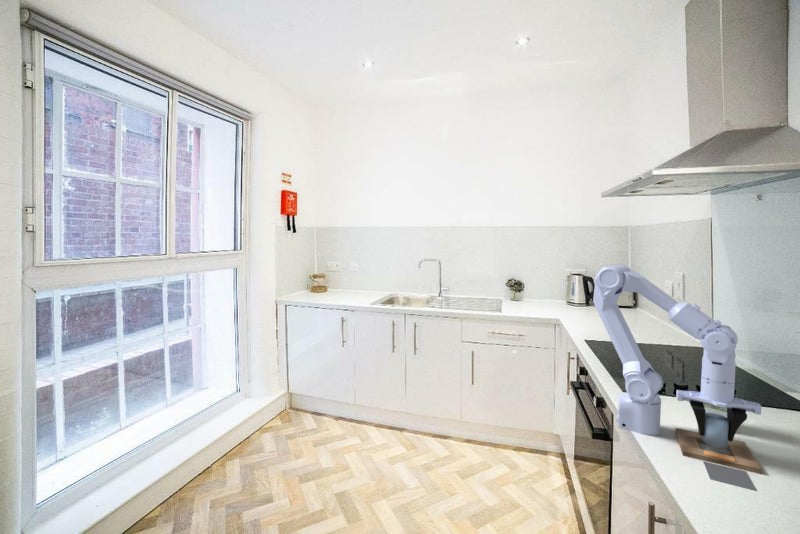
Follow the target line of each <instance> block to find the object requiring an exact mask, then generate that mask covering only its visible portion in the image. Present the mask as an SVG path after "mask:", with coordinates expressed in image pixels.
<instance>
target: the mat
mask: <svg viewBox="0 0 800 534" xmlns="http://www.w3.org/2000/svg"><path fill="white" fill-rule="evenodd" d="M702 462H703V464H704V467H705V470H706V472H707V475H708V476H709V479H710V480H712V481H716V482H719V483H723V484H728V485H731V486H733V487H739V488H743V489H747V490H751V491H754V492H758V490H757V488H756V486H755V484H754V483H753V481H752V479H751V478H750V475H749V474H748V471H746V470H742V469H738V468H733V467H729V466H725V465H721V464H716V463H712V462H708V461H704V460H702Z"/></svg>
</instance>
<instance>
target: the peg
mask: <svg viewBox="0 0 800 534" xmlns="http://www.w3.org/2000/svg"><path fill="white" fill-rule="evenodd" d="M728 435H729V419H728V418H726V417H724V416H722V415H719V414H715V413H705V419H704V436H702V440H703V441H704V442H705V443H704V444H706V443H707V444H706V445H709V446H711V447H714V448H719V449H728V448H727V447H728Z"/></svg>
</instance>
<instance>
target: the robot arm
mask: <svg viewBox="0 0 800 534" xmlns="http://www.w3.org/2000/svg"><path fill="white" fill-rule="evenodd" d="M593 284H594V289H593V301H592V302H593V305H594V307H595V310H597V311H596V312H597V313H598V316H599V318H600V320H601V322H602V324H603V326H604V328H605V330H606V332H607V334H608V336H609V338H610V341H611V343H612V345H613V347H614V349H615V351H616V354H617V355H618V357H619V359H620V361H621V364H622V376H623V378H624V380H625V381H624V382H625V391H626V393H625V394H624V393H619V394H618V406H617V407H618V409H617V410H618V411H617V414H616V422H617V428H619V429H623V430H626V431H631V432H634V433H637V434H640V435H643V436H645V435H646V436H658V435H660V434H661V433H660V431H661V415H662V414H661V413H662V412H661V408H662V399H661V397H660V395H659V391H661V390H662V388H664V380H663V378H662V376H661V375H660V374H659V373H658V372H657V371H656V370H654V368H653V366H652V365H651V363H650V362H649V361H648V360H647V359H645V357H644V355H643V353H642V352H641V349H640V347H639V345H638V343H637V342H636V339H635V337H634V335H633V333H632V332H631V331H632V330H631V329H630V328H629V327H630V326H629V325H628V323H627V321H626V319H625V317H624V315H623V313H622V311H621V309H620V306H619V305H618V300H619V299H620V296H621V294H622V293H623V292H629V293H638V294H639V295H641V296H642V297H643V298H645V299H647V300H648V301H650V302H651V303H653V304H654V305H656V306H658V307H659V308H661V309H662V310H664V311H665V312H666V313H667V314H668V316H669V317H668V318H669V321H670V322H672V323H673V324H675V326H678V327H679V328H680V329H681V330H683V331H684V332H685V333H687V334H688V335H689V336H692V337H693V338H694V339H696V340H699V341H700V345H701V347H702V348H703V354H702V355H703V356H702V358H701V377H700V391H694V390H693V391H691V390H680V389H676V394H675V395H676V397H675V398H676V400H677V401H680V402H684V401H685V402H689V405H690V407H691V409H692V411H693V413H694V416H695V419H696V423H697V430H698V433H699V434H700V435H702V436H704V419H705V412H706V410H705V409H704V405H703V404H707V405H713V406H717V407H723V408H727V418H728V419H729V435H728V441H731V442H732V441H733V440H734V437H735V435H736V433H737V432H738V429H739V428H740V427H741V425H743V423H745V421H746V420H747V419H748V414H747V412H748V413H753V414H754V415H758V416H759V415H760V416H762V405H761V404H760V403H759V402H754V401H749V400H744V399H741V398H737V397H735V383H736V365H737V364H736V360H735V359H736V349H737V348H736V347H737V345H738V342H739V339H738V335H737V333H736V332H735V331H734V330H733V329H732V328H731V326H728V325H726V324H722V321H720V320H719V319H716V320H715V319H713V318H712V317H710V316H709V315H707V314H706V313H704V312H703V311H701V307H700V306H699V305H698V304H691V303H689V302H678V301H677V300H675V298H673V297H671V296H670V295H668V293H666V292H664V291H663V290H662V289H661V288H659V287H658V286H657V285H655V284H654V283H652V281H650V280H648V279H647V278H646V277H644V276H643V275H642V274H640V273H638V272H637V271H635V270H631V268H630V267H628V266H627V265H624V264H618V265H613V266H611V265H610V266H605V267H602V268H601V269H600V270H599V271H598V272H597V274H596V276H595V277H594V278H593ZM623 424H624V425H623Z"/></svg>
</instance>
